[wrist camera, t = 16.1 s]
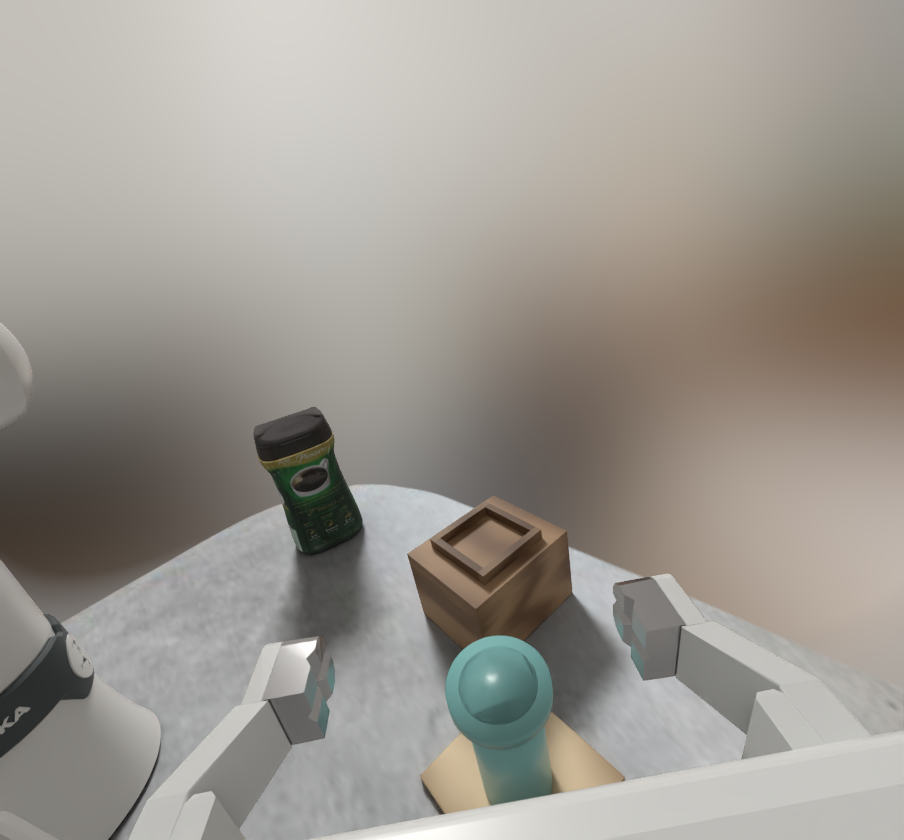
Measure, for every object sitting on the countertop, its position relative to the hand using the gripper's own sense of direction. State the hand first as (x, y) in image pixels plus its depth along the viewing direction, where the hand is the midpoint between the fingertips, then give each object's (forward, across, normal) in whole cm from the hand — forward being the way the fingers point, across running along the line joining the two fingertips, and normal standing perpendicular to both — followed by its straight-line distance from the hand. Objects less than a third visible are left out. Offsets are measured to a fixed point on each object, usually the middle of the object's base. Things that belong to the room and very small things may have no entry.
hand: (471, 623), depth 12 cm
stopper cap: (+8, -1, +25) cm, 26 cm away
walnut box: (+24, -2, +26) cm, 35 cm away
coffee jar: (+42, +19, +27) cm, 53 cm away
